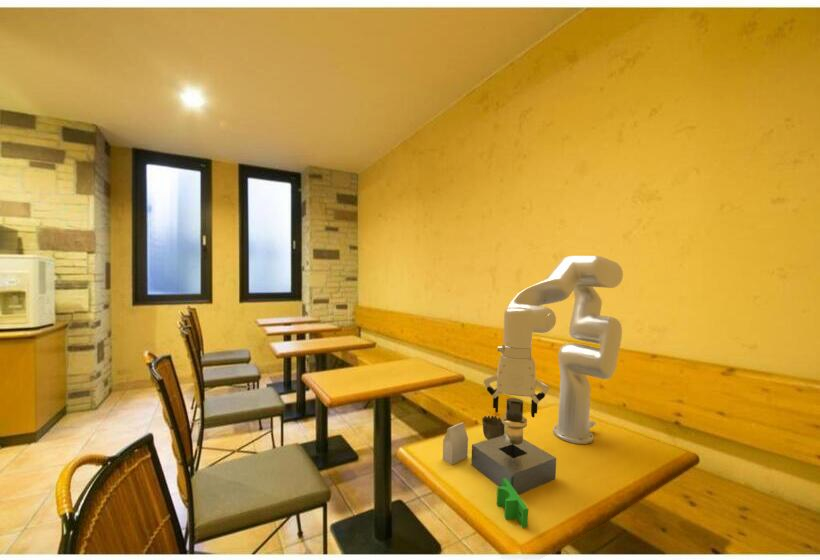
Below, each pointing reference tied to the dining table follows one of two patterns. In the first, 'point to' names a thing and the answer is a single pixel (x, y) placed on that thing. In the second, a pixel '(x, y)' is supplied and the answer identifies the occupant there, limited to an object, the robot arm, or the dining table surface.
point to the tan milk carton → (455, 444)
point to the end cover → (514, 421)
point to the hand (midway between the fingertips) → (514, 413)
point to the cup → (492, 427)
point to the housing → (513, 463)
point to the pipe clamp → (512, 503)
